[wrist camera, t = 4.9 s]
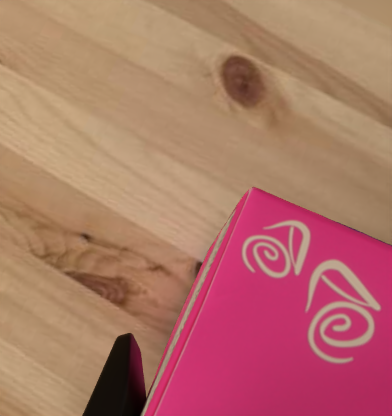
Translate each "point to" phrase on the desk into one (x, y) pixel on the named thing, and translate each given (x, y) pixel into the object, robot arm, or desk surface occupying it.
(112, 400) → the robot arm
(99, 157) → the desk surface
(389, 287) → the supplement box
